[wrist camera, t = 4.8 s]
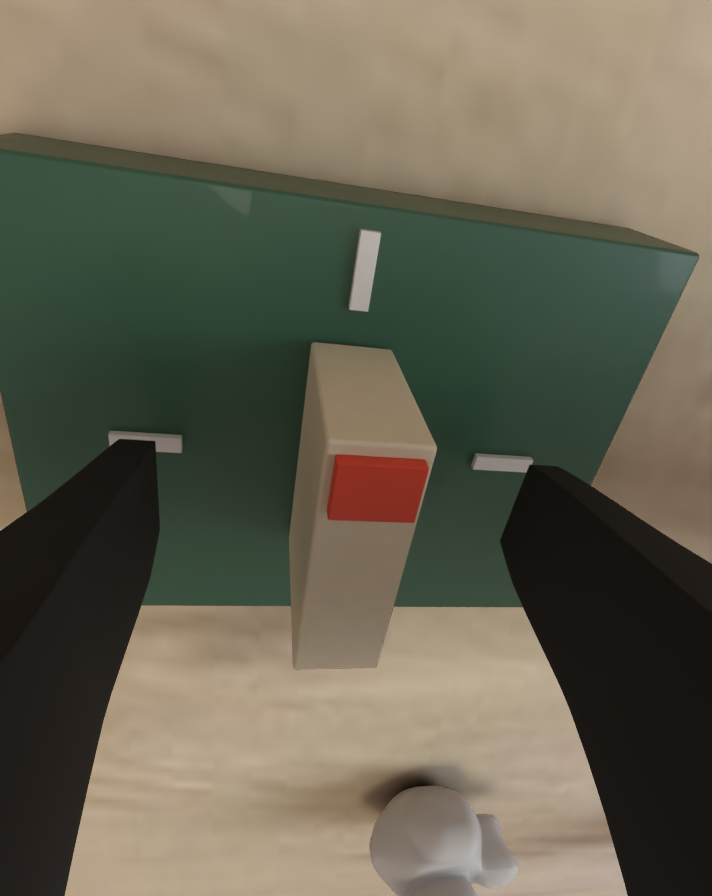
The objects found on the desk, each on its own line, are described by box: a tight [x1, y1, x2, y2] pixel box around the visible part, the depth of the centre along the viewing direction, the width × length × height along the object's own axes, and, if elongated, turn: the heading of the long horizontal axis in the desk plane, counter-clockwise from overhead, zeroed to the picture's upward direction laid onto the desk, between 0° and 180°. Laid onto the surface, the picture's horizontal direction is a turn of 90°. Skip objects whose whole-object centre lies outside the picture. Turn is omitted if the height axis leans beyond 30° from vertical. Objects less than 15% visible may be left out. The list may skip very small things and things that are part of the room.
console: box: [0, 133, 699, 607], centre depth 13 cm, size 13×10×3 cm
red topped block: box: [289, 342, 437, 669], centre depth 10 cm, size 5×2×4 cm, turn 171°
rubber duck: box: [370, 786, 518, 896], centre depth 23 cm, size 5×7×8 cm
